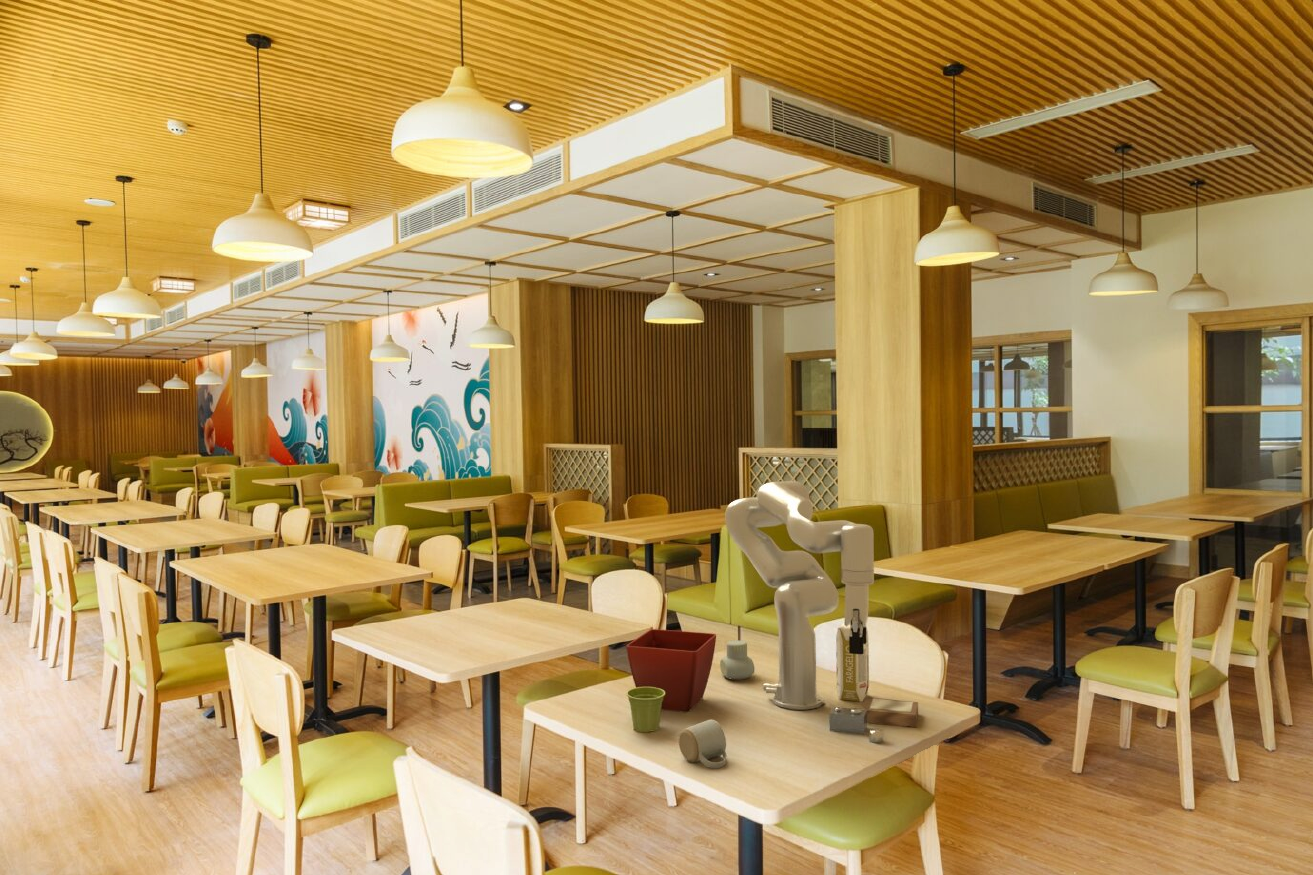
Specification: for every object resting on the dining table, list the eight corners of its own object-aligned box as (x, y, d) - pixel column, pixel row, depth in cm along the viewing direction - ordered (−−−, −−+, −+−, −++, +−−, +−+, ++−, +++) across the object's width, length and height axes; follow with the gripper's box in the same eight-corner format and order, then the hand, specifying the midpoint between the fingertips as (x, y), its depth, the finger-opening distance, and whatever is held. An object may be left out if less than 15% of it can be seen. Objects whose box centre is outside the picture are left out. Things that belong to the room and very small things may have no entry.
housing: (829, 731, 200) (829, 710, 200) (833, 724, 205) (833, 703, 205) (864, 735, 197) (863, 714, 197) (867, 728, 202) (867, 707, 202)
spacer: (869, 742, 192) (869, 732, 192) (870, 738, 195) (870, 727, 195) (882, 744, 191) (882, 733, 191) (884, 739, 194) (883, 729, 194)
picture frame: (864, 722, 205) (864, 708, 205) (868, 709, 215) (868, 696, 215) (916, 727, 201) (915, 713, 201) (918, 714, 211) (918, 701, 211)
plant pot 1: (671, 723, 206) (670, 688, 206) (658, 737, 197) (657, 700, 197) (635, 720, 209) (634, 685, 209) (621, 733, 200) (620, 696, 200)
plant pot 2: (697, 718, 210) (696, 650, 210) (625, 711, 216) (624, 645, 216) (718, 695, 228) (717, 633, 228) (651, 689, 234) (651, 628, 234)
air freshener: (756, 681, 240) (756, 646, 240) (728, 683, 239) (727, 648, 239) (745, 671, 251) (745, 637, 251) (718, 672, 250) (718, 639, 250)
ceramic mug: (676, 757, 185) (676, 722, 185) (706, 748, 190) (705, 714, 190) (706, 773, 176) (706, 737, 176) (736, 764, 181) (736, 728, 181)
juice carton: (870, 694, 227) (869, 623, 227) (864, 703, 220) (863, 630, 219) (842, 690, 231) (841, 621, 230) (835, 700, 223) (834, 627, 223)
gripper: (844, 569, 210) (845, 638, 211) (837, 582, 194) (838, 656, 194) (876, 571, 208) (876, 640, 208) (871, 583, 192) (872, 659, 192)
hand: (858, 648), depth 201 cm, fingers open, 9 cm apart
